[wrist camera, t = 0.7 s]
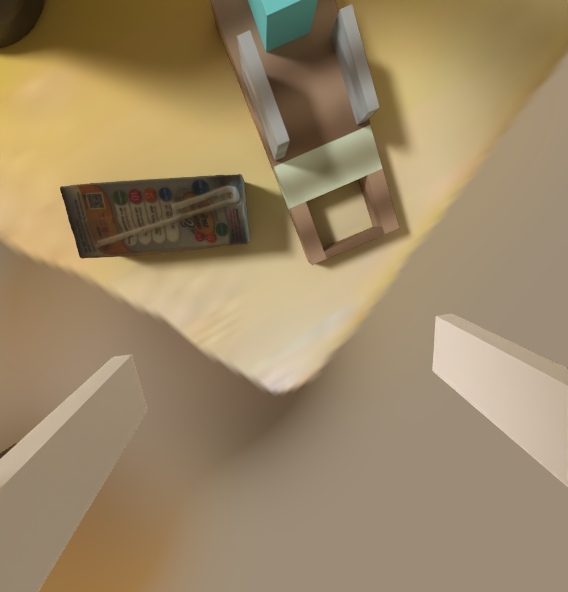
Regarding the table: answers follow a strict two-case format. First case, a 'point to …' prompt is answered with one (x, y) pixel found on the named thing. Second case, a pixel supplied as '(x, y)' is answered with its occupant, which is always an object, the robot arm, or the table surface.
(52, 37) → the table surface
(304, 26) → the teal block
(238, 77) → the brown piece
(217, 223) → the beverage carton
